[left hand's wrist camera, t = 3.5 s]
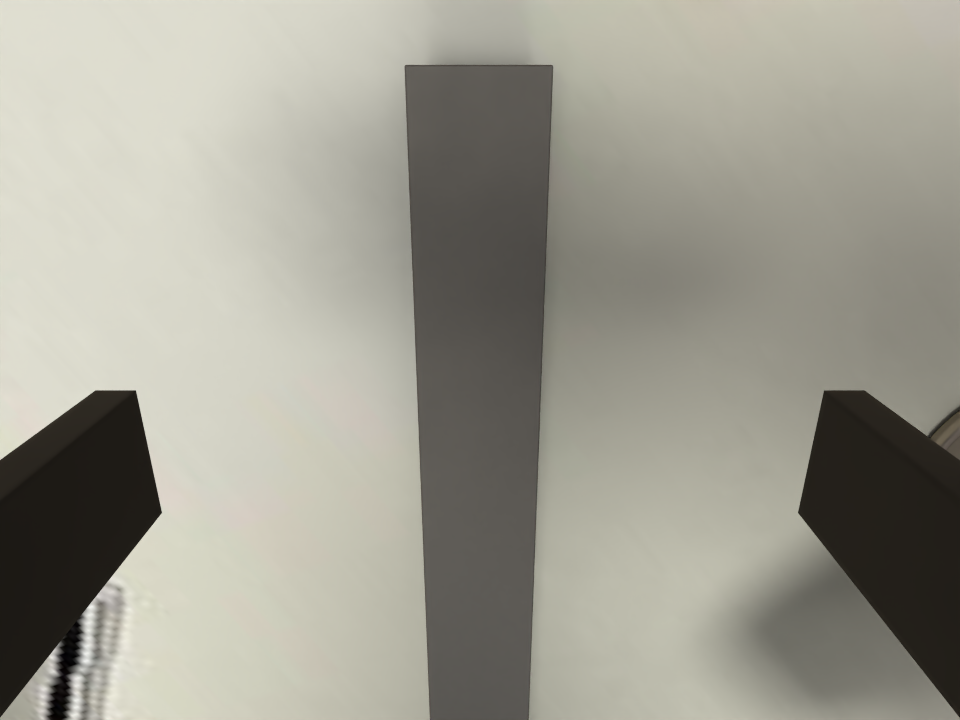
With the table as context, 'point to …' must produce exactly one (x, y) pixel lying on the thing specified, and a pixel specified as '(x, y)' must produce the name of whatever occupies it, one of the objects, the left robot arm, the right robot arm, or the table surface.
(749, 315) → the table surface
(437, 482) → the beam
